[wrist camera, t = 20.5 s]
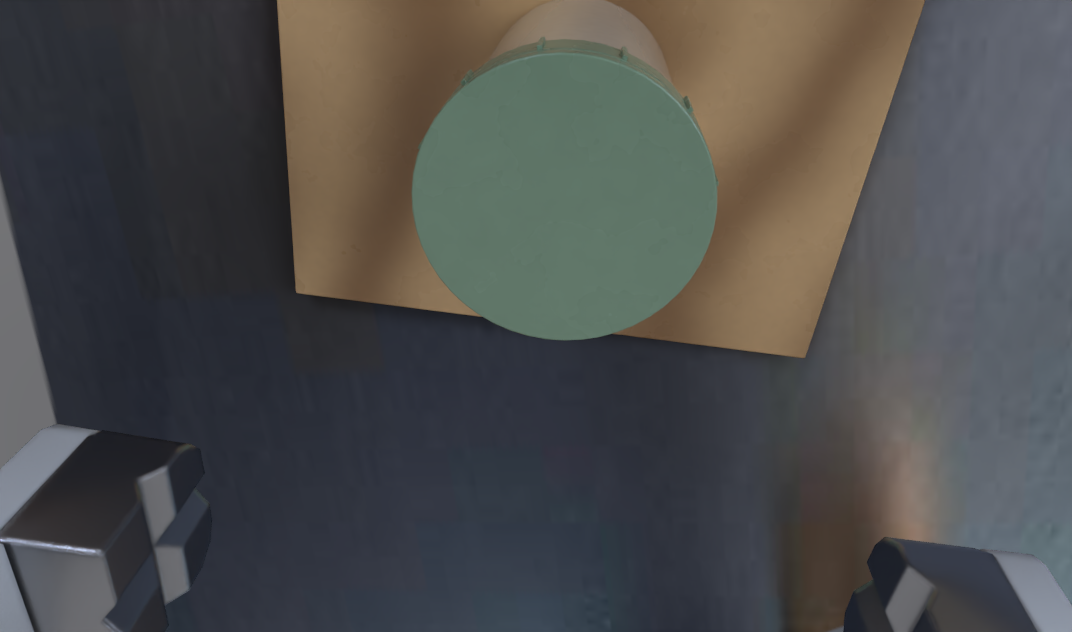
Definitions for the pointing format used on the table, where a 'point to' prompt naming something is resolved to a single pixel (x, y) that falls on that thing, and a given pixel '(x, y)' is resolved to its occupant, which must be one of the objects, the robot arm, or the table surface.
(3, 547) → the robot arm
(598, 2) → the jar
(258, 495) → the table surface
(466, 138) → the lid
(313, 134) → the cork board
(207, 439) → the table surface
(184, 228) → the table surface
